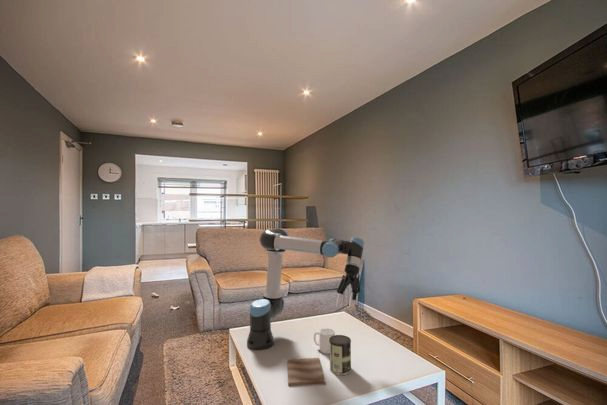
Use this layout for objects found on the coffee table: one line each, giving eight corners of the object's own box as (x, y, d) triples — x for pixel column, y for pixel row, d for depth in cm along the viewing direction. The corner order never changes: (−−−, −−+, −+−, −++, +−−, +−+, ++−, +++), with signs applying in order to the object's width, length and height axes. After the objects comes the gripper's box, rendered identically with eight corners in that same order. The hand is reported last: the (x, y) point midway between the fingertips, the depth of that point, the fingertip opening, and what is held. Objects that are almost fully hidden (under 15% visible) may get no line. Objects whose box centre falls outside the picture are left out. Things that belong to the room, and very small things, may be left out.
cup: (331, 355, 152) (331, 335, 153) (310, 350, 158) (310, 331, 158) (337, 348, 160) (336, 329, 160) (316, 344, 165) (316, 326, 165)
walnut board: (287, 361, 146) (287, 359, 146) (319, 360, 148) (319, 357, 148) (288, 385, 126) (288, 382, 127) (324, 383, 128) (324, 380, 128)
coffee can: (349, 363, 144) (349, 334, 145) (352, 375, 134) (352, 344, 134) (328, 363, 144) (328, 334, 145) (330, 375, 134) (330, 344, 135)
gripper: (371, 265, 146) (364, 309, 138) (347, 270, 168) (339, 308, 160) (359, 260, 144) (350, 304, 136) (335, 266, 166) (327, 304, 158)
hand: (344, 306), depth 148 cm, fingers open, 13 cm apart
